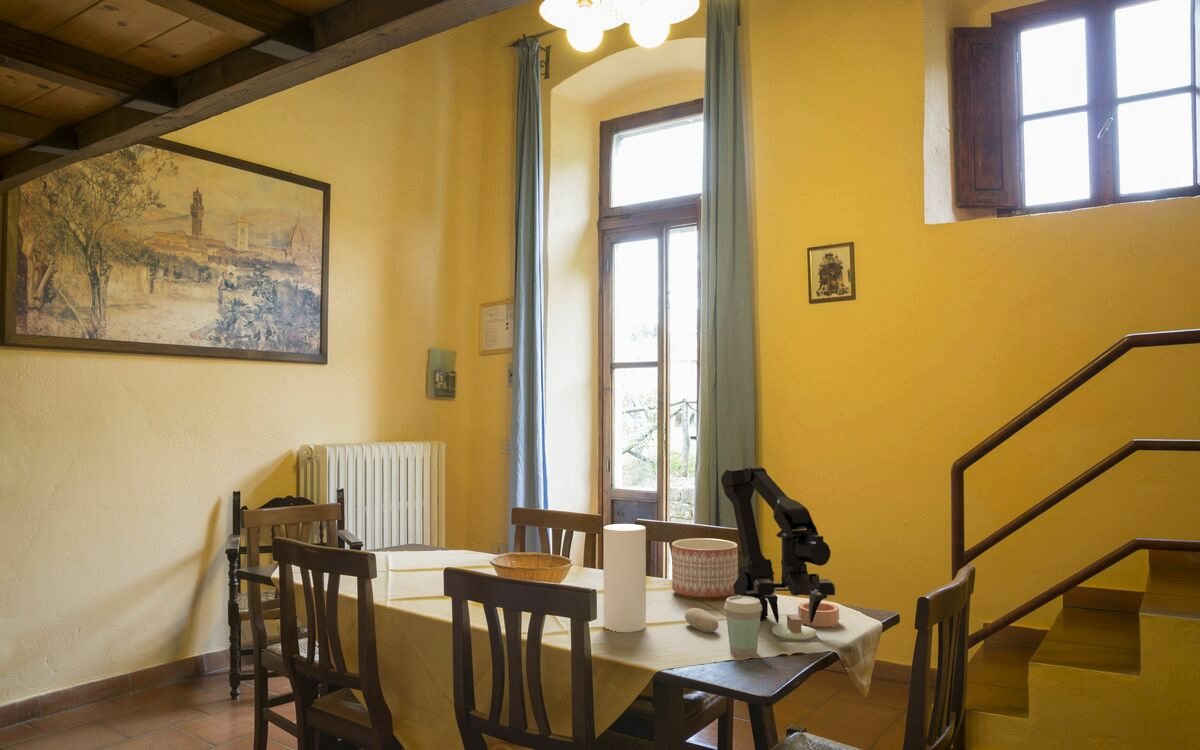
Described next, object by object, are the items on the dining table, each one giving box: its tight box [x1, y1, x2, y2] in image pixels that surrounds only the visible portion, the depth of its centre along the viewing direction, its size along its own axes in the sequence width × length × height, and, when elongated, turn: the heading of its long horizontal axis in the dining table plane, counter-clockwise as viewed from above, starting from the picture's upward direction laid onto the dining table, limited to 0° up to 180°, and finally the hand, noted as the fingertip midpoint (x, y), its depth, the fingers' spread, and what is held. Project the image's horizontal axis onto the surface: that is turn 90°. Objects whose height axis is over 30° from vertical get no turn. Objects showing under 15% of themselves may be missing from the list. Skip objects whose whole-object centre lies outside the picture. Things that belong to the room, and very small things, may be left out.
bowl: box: [797, 601, 840, 628], centre depth 209 cm, size 10×10×4 cm
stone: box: [684, 607, 720, 633], centre depth 203 cm, size 6×6×12 cm
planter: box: [671, 537, 739, 601], centre depth 240 cm, size 19×19×15 cm
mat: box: [768, 627, 821, 642], centre depth 198 cm, size 10×10×1 cm
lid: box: [771, 614, 817, 640], centre depth 198 cm, size 10×10×4 cm
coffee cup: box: [723, 595, 762, 658], centre depth 184 cm, size 8×8×12 cm
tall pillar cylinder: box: [603, 523, 647, 633], centre depth 206 cm, size 11×11×25 cm
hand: (794, 622), depth 198 cm, fingers open, 8 cm apart
